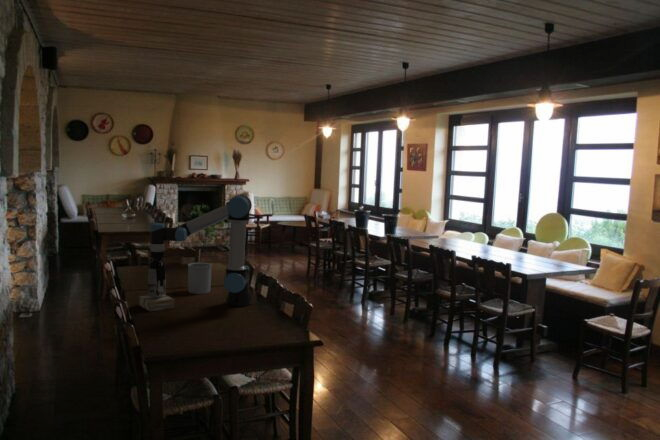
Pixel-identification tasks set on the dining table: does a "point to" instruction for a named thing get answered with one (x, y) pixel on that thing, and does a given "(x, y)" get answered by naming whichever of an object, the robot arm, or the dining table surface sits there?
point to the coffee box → (155, 283)
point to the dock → (156, 302)
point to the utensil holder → (199, 278)
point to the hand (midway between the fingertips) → (157, 289)
